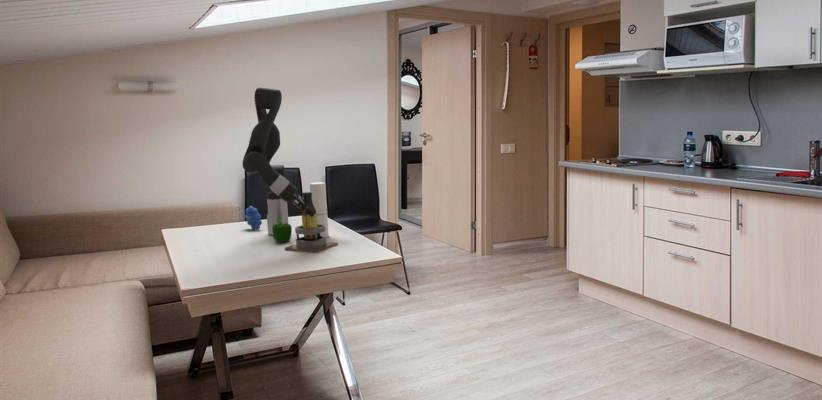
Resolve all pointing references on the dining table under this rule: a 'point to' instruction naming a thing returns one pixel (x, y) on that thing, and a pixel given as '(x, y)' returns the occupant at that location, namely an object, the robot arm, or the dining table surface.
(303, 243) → the collar stand
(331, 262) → the dining table surface
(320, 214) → the cylindrical container
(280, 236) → the bell pepper
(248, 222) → the grapes
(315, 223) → the sauce bottle
